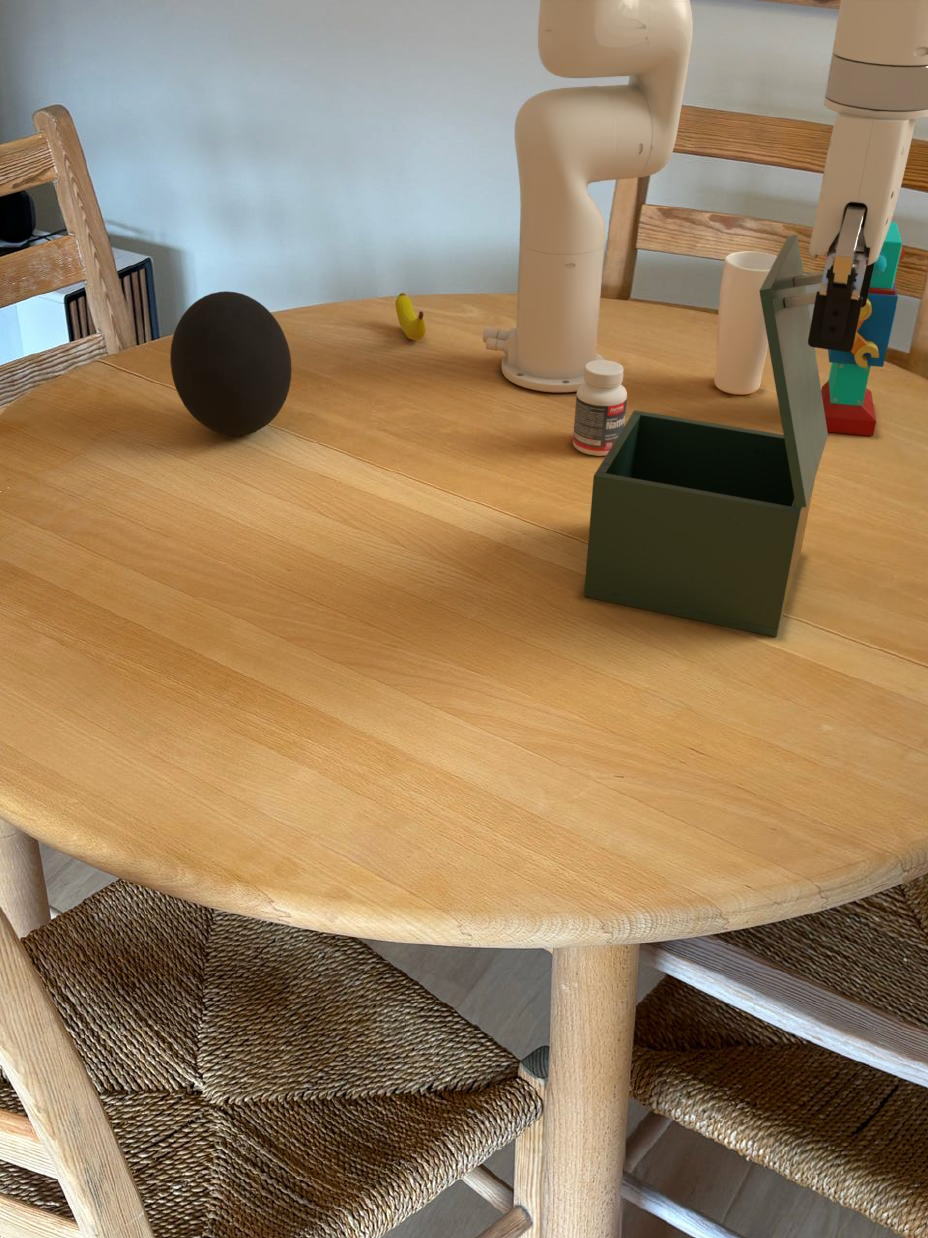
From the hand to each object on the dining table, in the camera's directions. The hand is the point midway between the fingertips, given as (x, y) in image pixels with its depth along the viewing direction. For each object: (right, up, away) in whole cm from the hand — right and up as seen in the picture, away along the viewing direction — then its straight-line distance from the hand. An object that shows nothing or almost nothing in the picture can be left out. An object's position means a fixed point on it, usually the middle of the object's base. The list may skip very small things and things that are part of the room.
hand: (837, 325), depth 95 cm
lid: (-3, -3, +3) cm, 5 cm away
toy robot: (+14, 0, +44) cm, 46 cm away
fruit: (-35, +13, +62) cm, 73 cm away
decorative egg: (-53, -2, +39) cm, 66 cm away
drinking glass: (+3, +5, +51) cm, 51 cm away
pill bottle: (-14, -4, +37) cm, 40 cm away
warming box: (-8, -19, +16) cm, 26 cm away
